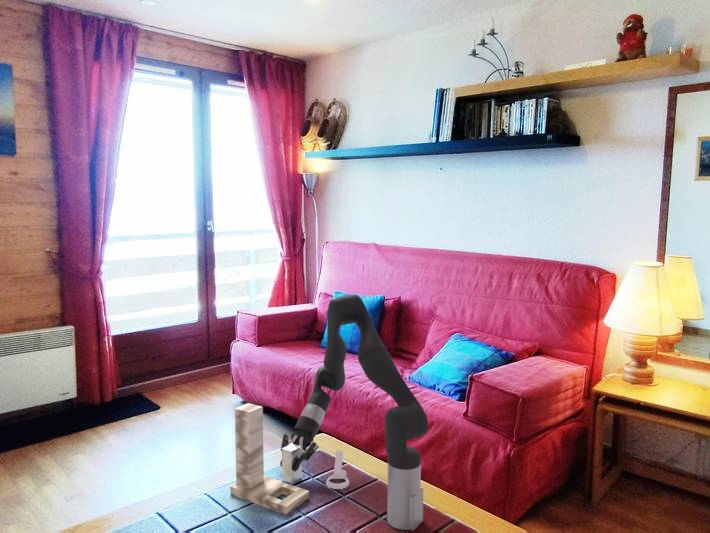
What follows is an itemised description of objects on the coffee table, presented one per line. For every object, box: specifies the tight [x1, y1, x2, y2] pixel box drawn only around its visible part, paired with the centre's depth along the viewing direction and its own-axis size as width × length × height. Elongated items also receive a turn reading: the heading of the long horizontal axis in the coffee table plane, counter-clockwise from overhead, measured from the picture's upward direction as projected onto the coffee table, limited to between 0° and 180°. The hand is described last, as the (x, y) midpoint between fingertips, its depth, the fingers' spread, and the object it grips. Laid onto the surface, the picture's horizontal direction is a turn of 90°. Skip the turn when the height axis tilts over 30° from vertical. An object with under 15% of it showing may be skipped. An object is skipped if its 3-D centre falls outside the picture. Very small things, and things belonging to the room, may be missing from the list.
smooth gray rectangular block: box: [281, 444, 302, 485], centre depth 180 cm, size 4×5×11 cm
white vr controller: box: [325, 449, 350, 490], centre depth 179 cm, size 8×12×7 cm
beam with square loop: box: [229, 402, 310, 516], centre depth 168 cm, size 22×11×26 cm, turn 57°
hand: (287, 468), depth 178 cm, fingers closed on smooth gray rectangular block, 4 cm apart
